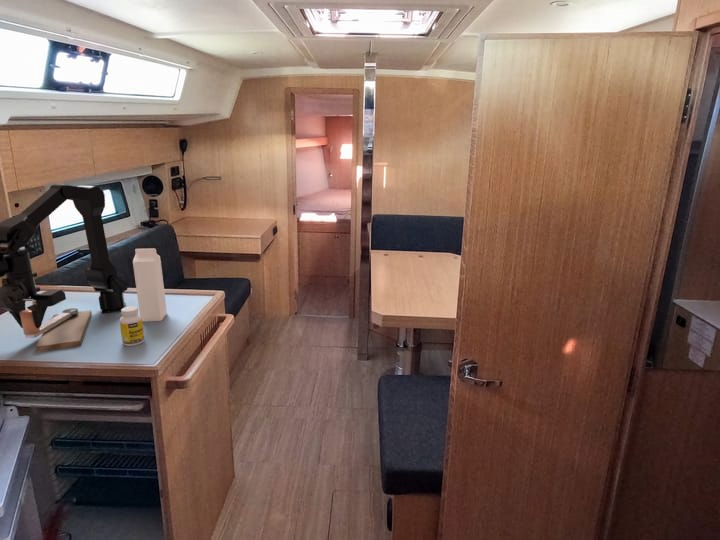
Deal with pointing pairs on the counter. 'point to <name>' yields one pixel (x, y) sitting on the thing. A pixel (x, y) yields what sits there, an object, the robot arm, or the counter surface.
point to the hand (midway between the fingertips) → (31, 327)
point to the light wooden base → (65, 333)
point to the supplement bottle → (131, 326)
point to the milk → (149, 284)
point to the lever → (30, 326)
